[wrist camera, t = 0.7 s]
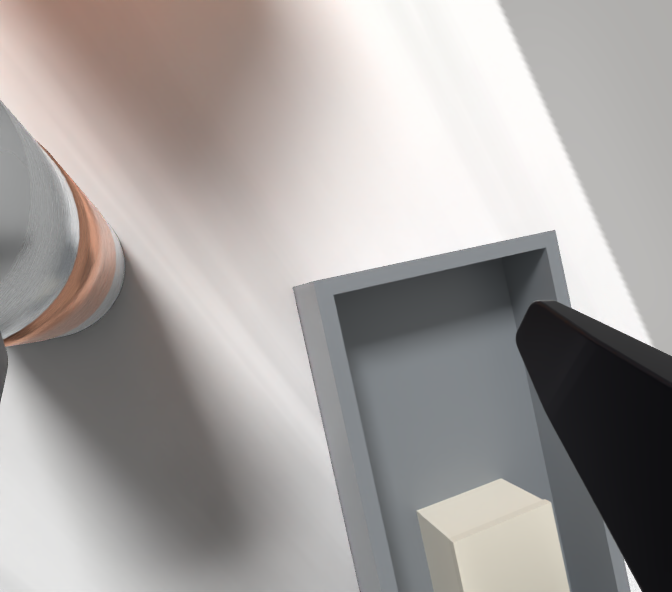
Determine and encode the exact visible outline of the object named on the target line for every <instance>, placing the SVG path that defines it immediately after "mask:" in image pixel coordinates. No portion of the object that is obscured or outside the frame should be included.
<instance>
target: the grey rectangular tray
mask: <svg viewBox="0 0 672 592" xmlns="http://www.w3.org/2000/svg"><path fill="white" fill-rule="evenodd" d="M293 290H294V295H295V299H296V304H297V308H298V313H299V317H300V322H301V326H302V331H303V336H304V340H305V345H306V349H307V354H308V358H309V363H310V367H311V372H312V376H313V381H314V385H315V390H316V395H317V399H318V404H319V408H320V413H321V417H322V422H323V426H324V431H325V435H326V440H327V444H328V449H329V454H330V458H331V463H332V467H333V472H334V476H335V481H336V485H337V490H338V494H339V499H340V503H341V508H342V513H343V517H344V522H345V526H346V531H347V535H348V540H349V544H350V549H351V553H352V558H353V562H354V567H355V572H356V576H357V581H358V585H359V590H360V592H434V590H433V585H432V581H431V576H430V571H429V567H428V562H427V558H426V553H425V548H424V544H423V539H422V535H421V530H420V525H419V521H418V516H417V512H416V511H417V510H420V509H422V508H425V507H427V506H430V505H433V504H435V503H438V502H441V501H443V500H446V499H448V498H451V497H454V496H456V495H459V494H461V493H464V492H467V491H469V490H472V489H475V488H477V487H480V486H482V485H485V484H488V483H490V482H493V481H496V480H498V479H501V478H502V479H504V480H506V481H508V482H509V483H511V484H513V485H515V486H517V487H519V488H521V489H523V490H525V491H527V492H529V493H531V494H533V495H535V496H537V497H539V498H540V499H542V500H544V499H546V500H548V501H550V502H551V504H552V509H553V514H554V519H555V523H556V528H557V533H558V538H559V542H560V547H561V552H562V557H563V561H564V566H565V571H566V575H567V580H568V585H569V590H570V592H631V591H630V587H629V582H628V577H627V572H626V567H625V563H624V558H623V556H622V554H621V552H620V550H619V548H618V547H617V545H616V543H615V541H614V539H613V537H612V535H611V534H610V532H609V530H608V528H607V526H606V524H605V523H604V521H603V519H602V517H601V515H600V513H599V511H598V510H597V508H596V506H595V504H594V502H593V500H592V499H591V497H590V495H589V493H588V491H587V489H586V487H585V486H584V484H583V482H582V480H581V478H580V476H579V475H578V473H577V471H576V469H575V467H574V465H573V463H572V462H571V460H570V458H569V456H568V454H567V452H566V451H565V449H564V447H563V445H562V443H561V441H560V439H559V438H558V436H557V434H556V432H555V430H554V428H553V427H552V425H551V423H550V421H549V419H548V417H547V415H546V413H545V411H544V409H543V407H542V404H541V402H540V400H539V398H538V395H537V393H536V390H535V388H534V386H533V383H532V381H531V379H530V376H529V374H528V372H527V369H526V367H525V364H524V362H523V360H522V357H521V355H520V353H519V350H518V348H517V345H516V341H515V337H516V332H517V330H518V328H519V326H520V324H521V321H522V319H523V317H524V315H525V313H526V311H527V309H528V307H529V305H530V304H531V303H532V302H534V301H536V300H554V301H557V302H559V303H561V304H563V305H566V306H568V307H570V308H571V304H570V299H569V294H568V289H567V285H566V280H565V275H564V270H563V265H562V261H561V256H560V251H559V246H558V242H557V237H556V232H555V230H553V231H548V232H543V233H539V234H534V235H529V236H524V237H520V238H515V239H510V240H506V241H501V242H496V243H492V244H487V245H482V246H477V247H473V248H468V249H463V250H459V251H454V252H449V253H444V254H440V255H435V256H430V257H426V258H421V259H416V260H412V261H407V262H402V263H397V264H393V265H388V266H383V267H379V268H374V269H369V270H364V271H360V272H355V273H350V274H346V275H341V276H336V277H332V278H327V279H322V280H317V281H313V282H309V283H306V284H303V285H299V286H296V287H293Z"/></svg>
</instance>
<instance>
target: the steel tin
mask: <svg viewBox="0 0 672 592" xmlns="http://www.w3.org/2000/svg"><path fill="white" fill-rule="evenodd" d="M124 274H125V260H124V254H123V250H122V247H121V244H120V242H119V239H118V237H117V235H116V234H115V232H114V231H113V229H112V228H111V226H110V225H109V224H108V223H107V222H106V220H105V219H104V218H103V216H102V214H101V213H100V212H99V211H98V209H97V208H96V207H95V206H94V205H93V203H92V202H91V201H90V200H89V199H88V198H87V196H86V195H85V194H84V193H83V192H82V191H81V189H80V188H79V187H78V186H77V185H76V184H75V182H74V181H73V180H72V179H71V178H70V177H69V175H68V174H67V173H66V172H65V171H64V170H63V168H62V167H61V166H60V165H59V164H58V163H57V161H56V160H55V159H54V158H53V157H52V156H51V154H50V153H49V152H48V151H47V150H46V149H45V148H44V147H43V146H42V145H40V144H39V143H38V142H37V141H36V140H35V139H34V138H33V137H32V136H31V135H30V133H29V132H28V131H27V130H26V129H25V128H24V127H23V125H22V124H21V123H20V122H19V121H18V120H17V119H16V117H15V116H14V115H13V114H12V113H11V112H10V111H9V109H8V108H7V107H6V106H5V105H4V104H3V102H2V101H1V100H0V331H1V335H2V338H3V341H4V345H5V347H7V346H14V345H20V344H26V343H33V342H39V341H44V340H48V339H51V338H57V337H63V336H67V335H70V334H74V333H76V332H79V331H81V330H83V329H85V328H87V327H89V326H91V325H92V324H94V323H95V322H96V321H98V320H99V319H100V318H101V317H102V316H103V315H105V314H106V313H107V311H108V310H109V309H110V308H111V307H112V305H113V304H114V302H115V300H116V299H117V297H118V295H119V293H120V290H121V288H122V284H123V281H124Z"/></svg>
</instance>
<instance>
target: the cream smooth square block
mask: <svg viewBox="0 0 672 592" xmlns="http://www.w3.org/2000/svg"><path fill="white" fill-rule="evenodd" d="M416 512H417V516H418V521H419V525H420V530H421V535H422V539H423V544H424V548H425V553H426V558H427V562H428V567H429V571H430V576H431V581H432V585H433V590H434V592H570V590H569V585H568V580H567V575H566V571H565V566H564V561H563V557H562V552H561V547H560V542H559V538H558V533H557V528H556V523H555V519H554V514H553V509H552V504H551V502H550V501H548V500H546V499H544V500H542V499H540V498H539V497H537V496H535V495H533V494H531V493H529V492H527V491H525V490H523V489H521V488H519V487H517V486H515V485H513V484H511V483H509V482H508V481H506V480H504V479H502V478H501V479H498V480H496V481H493V482H490V483H488V484H485V485H482V486H480V487H477V488H475V489H472V490H469V491H467V492H464V493H461V494H459V495H456V496H454V497H451V498H448V499H446V500H443V501H441V502H438V503H435V504H433V505H430V506H427V507H425V508H422V509H420V510H417V511H416Z"/></svg>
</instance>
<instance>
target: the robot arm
mask: <svg viewBox="0 0 672 592" xmlns="http://www.w3.org/2000/svg"><path fill="white" fill-rule="evenodd" d="M515 341H516V345H517V348H518V350H519V353H520V355H521V357H522V360H523V362H524V364H525V367H526V369H527V372H528V374H529V376H530V379H531V381H532V383H533V386H534V388H535V390H536V393H537V395H538V398H539V400H540V402H541V404H542V407H543V409H544V411H545V413H546V415H547V417H548V419H549V421H550V423H551V425H552V427H553V428H554V430H555V432H556V434H557V436H558V438H559V439H560V441H561V443H562V445H563V447H564V449H565V451H566V452H567V454H568V456H569V458H570V460H571V462H572V463H573V465H574V467H575V469H576V471H577V473H578V475H579V476H580V478H581V480H582V482H583V484H584V486H585V487H586V489H587V491H588V493H589V495H590V497H591V499H592V500H593V502H594V504H595V506H596V508H597V510H598V511H599V513H600V515H601V517H602V519H603V521H604V523H605V524H606V526H607V528H608V530H609V532H610V534H611V535H612V537H613V539H614V541H615V543H616V545H617V547H618V548H619V550H620V552H621V554H622V556H623V558H624V559H625V561H626V563H627V565H628V567H629V569H630V571H631V572H632V574H633V576H634V578H635V580H636V582H637V583H638V585H639V587H640V589H641V591H642V592H672V356H670V355H668V354H666V353H664V352H662V351H660V350H658V349H656V348H653V347H651V346H649V345H647V344H645V343H643V342H641V341H639V340H637V339H635V338H633V337H630V336H628V335H626V334H624V333H622V332H620V331H618V330H616V329H614V328H612V327H609V326H607V325H605V324H603V323H601V322H599V321H597V320H595V319H593V318H591V317H589V316H586V315H584V314H582V313H580V312H578V311H576V310H574V309H572V308H570V307H568V306H566V305H563V304H561V303H559V302H557V301H554V300H536V301H534V302H532V303H531V304H530V305H529V307H528V309H527V311H526V313H525V315H524V317H523V319H522V321H521V324H520V326H519V328H518V330H517V332H516V337H515ZM7 368H8V356H7V351H6V348H5V345H4V341H3V338H2V335H1V331H0V402H1V397H2V392H3V388H4V383H5V378H6V374H7Z"/></svg>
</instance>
